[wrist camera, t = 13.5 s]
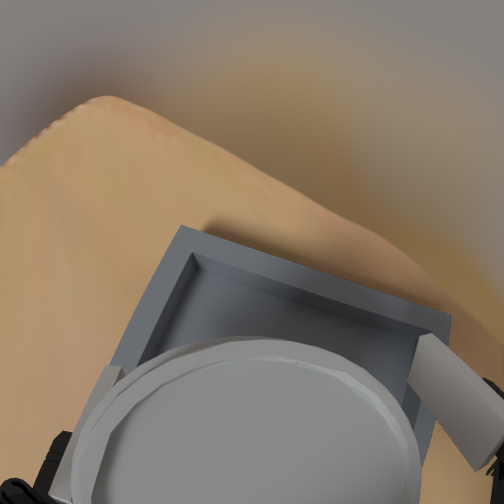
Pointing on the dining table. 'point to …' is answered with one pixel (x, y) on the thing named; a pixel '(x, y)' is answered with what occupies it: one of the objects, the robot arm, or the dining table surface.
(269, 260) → the slate tray
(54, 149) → the dining table surface
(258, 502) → the disposable coffee cup
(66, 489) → the robot arm
